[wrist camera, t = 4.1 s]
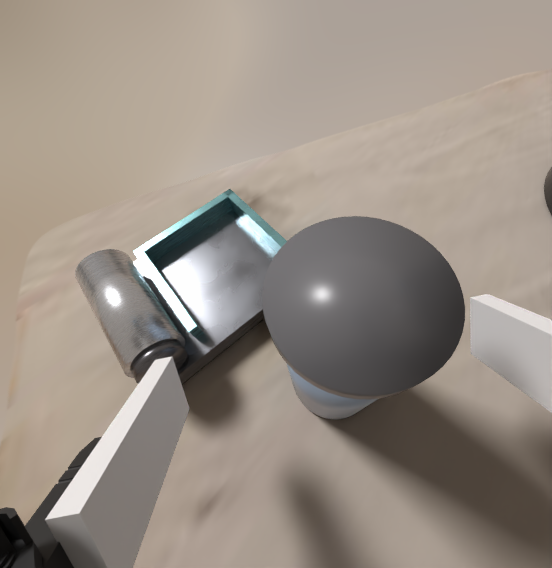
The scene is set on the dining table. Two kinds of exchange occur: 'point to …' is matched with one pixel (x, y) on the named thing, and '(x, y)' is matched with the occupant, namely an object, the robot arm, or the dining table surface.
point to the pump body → (360, 312)
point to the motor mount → (183, 288)
